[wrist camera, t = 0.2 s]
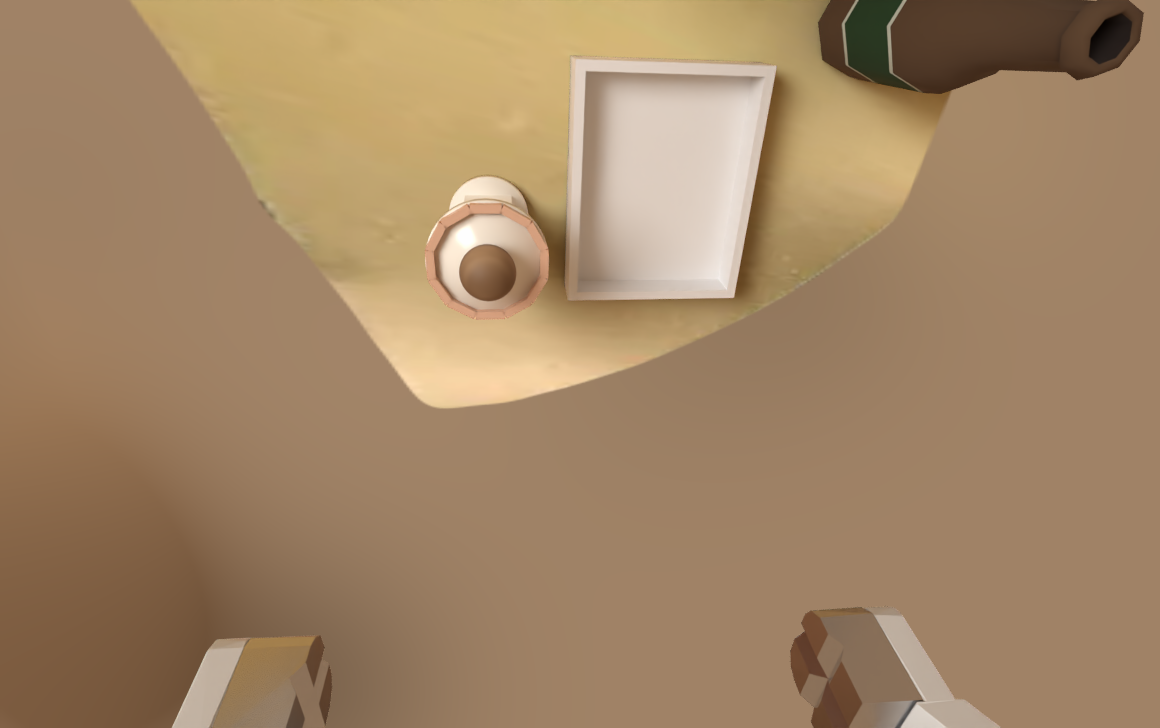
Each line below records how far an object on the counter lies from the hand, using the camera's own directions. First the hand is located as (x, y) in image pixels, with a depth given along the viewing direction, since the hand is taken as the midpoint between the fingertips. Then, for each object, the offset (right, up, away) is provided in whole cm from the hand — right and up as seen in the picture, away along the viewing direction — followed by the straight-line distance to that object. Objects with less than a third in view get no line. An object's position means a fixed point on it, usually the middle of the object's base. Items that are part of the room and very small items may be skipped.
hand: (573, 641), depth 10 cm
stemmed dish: (-8, +18, +44) cm, 48 cm away
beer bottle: (+23, +33, +40) cm, 57 cm away
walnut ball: (-6, +11, +32) cm, 35 cm away
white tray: (+7, +21, +44) cm, 50 cm away
